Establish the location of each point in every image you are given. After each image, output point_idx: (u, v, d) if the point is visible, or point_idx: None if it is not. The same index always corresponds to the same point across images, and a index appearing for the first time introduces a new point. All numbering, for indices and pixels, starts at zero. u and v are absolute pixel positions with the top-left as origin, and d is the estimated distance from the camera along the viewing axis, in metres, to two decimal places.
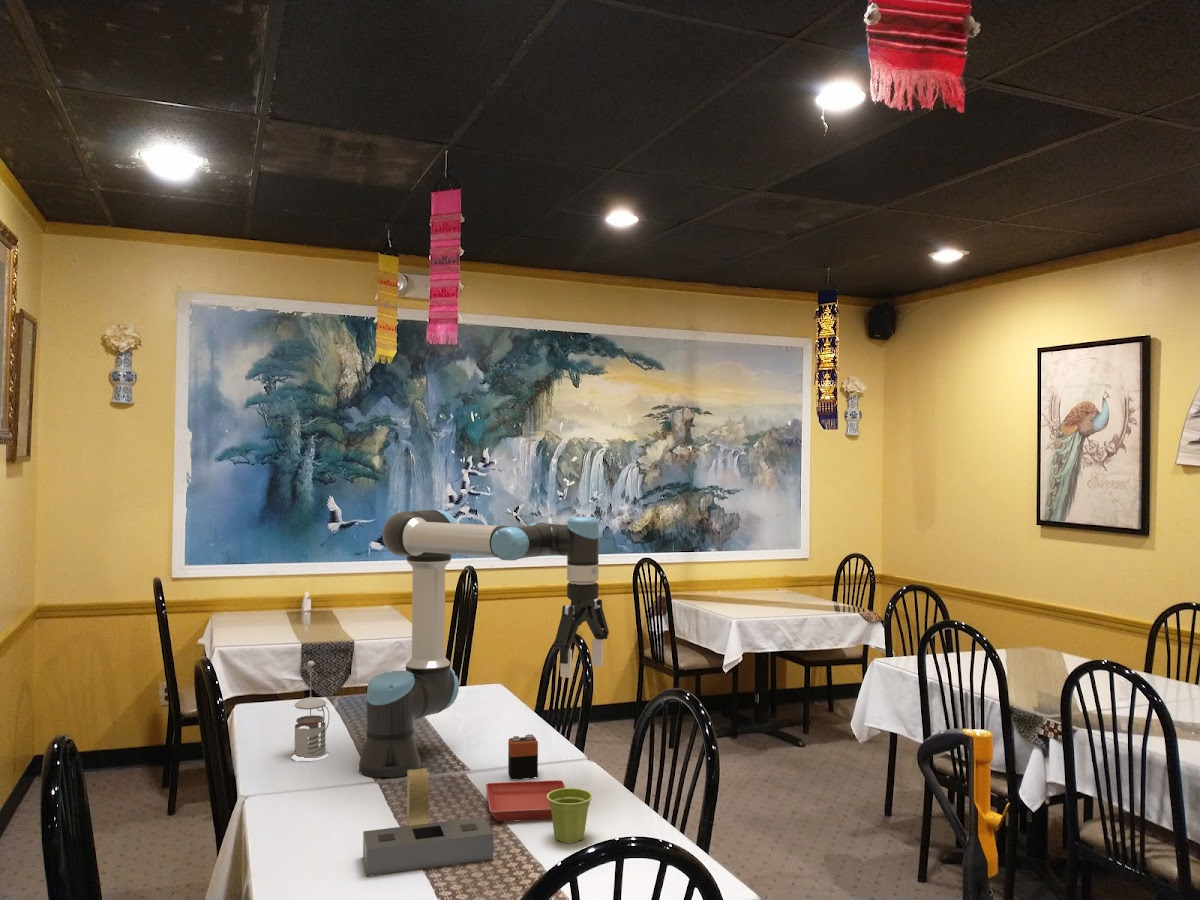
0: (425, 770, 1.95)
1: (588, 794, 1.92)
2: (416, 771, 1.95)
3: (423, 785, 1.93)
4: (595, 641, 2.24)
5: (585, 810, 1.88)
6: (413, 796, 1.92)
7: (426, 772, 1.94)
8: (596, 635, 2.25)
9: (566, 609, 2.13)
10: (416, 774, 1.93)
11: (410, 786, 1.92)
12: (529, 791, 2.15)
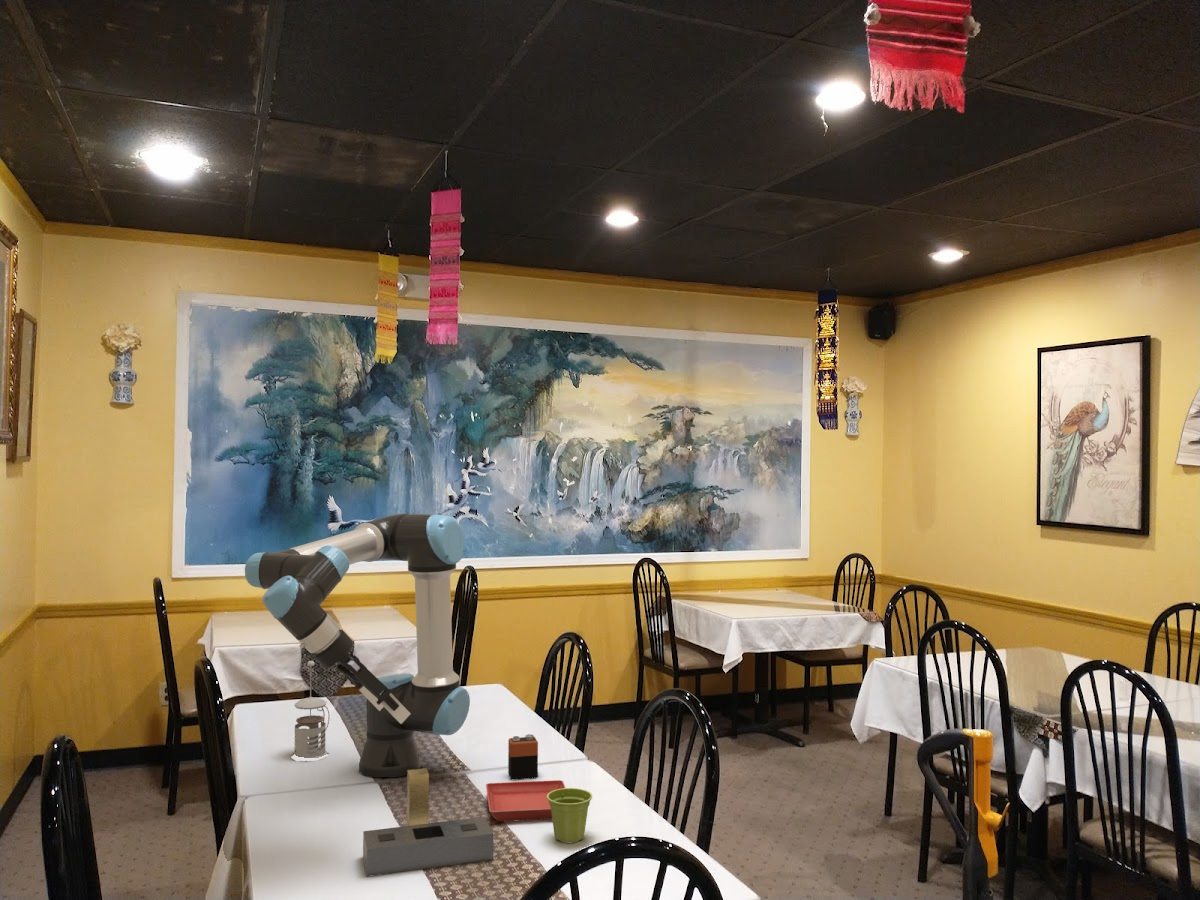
0: (425, 770, 1.95)
1: (588, 794, 1.92)
2: (416, 771, 1.95)
3: (423, 785, 1.93)
4: None
5: (585, 810, 1.88)
6: (413, 796, 1.92)
7: (426, 772, 1.94)
8: None
9: None
10: (416, 774, 1.93)
11: (410, 786, 1.92)
12: (529, 791, 2.15)
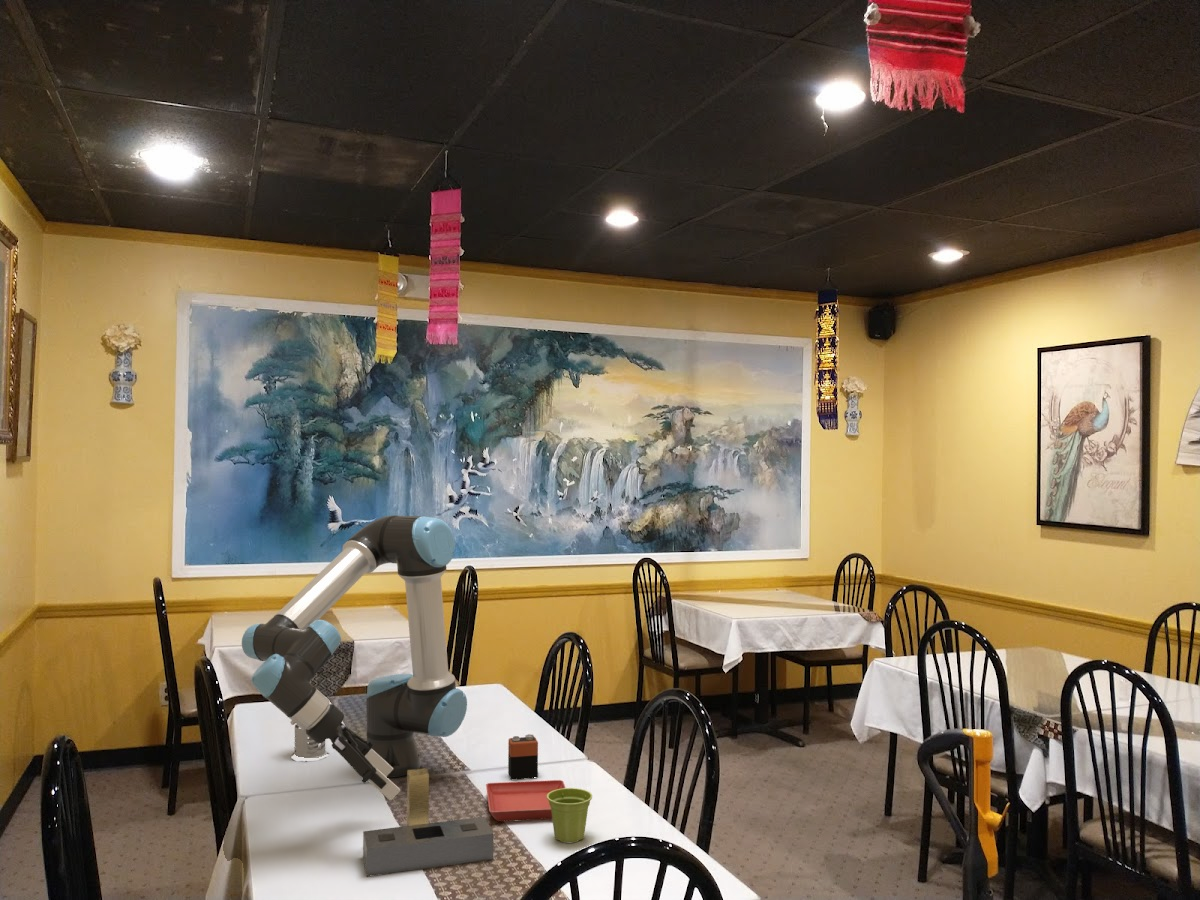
0: (425, 770, 1.95)
1: (588, 794, 1.92)
2: (416, 771, 1.95)
3: (423, 785, 1.93)
4: None
5: (585, 810, 1.88)
6: (413, 796, 1.92)
7: (426, 772, 1.94)
8: None
9: None
10: (416, 774, 1.93)
11: (410, 786, 1.92)
12: (529, 791, 2.15)
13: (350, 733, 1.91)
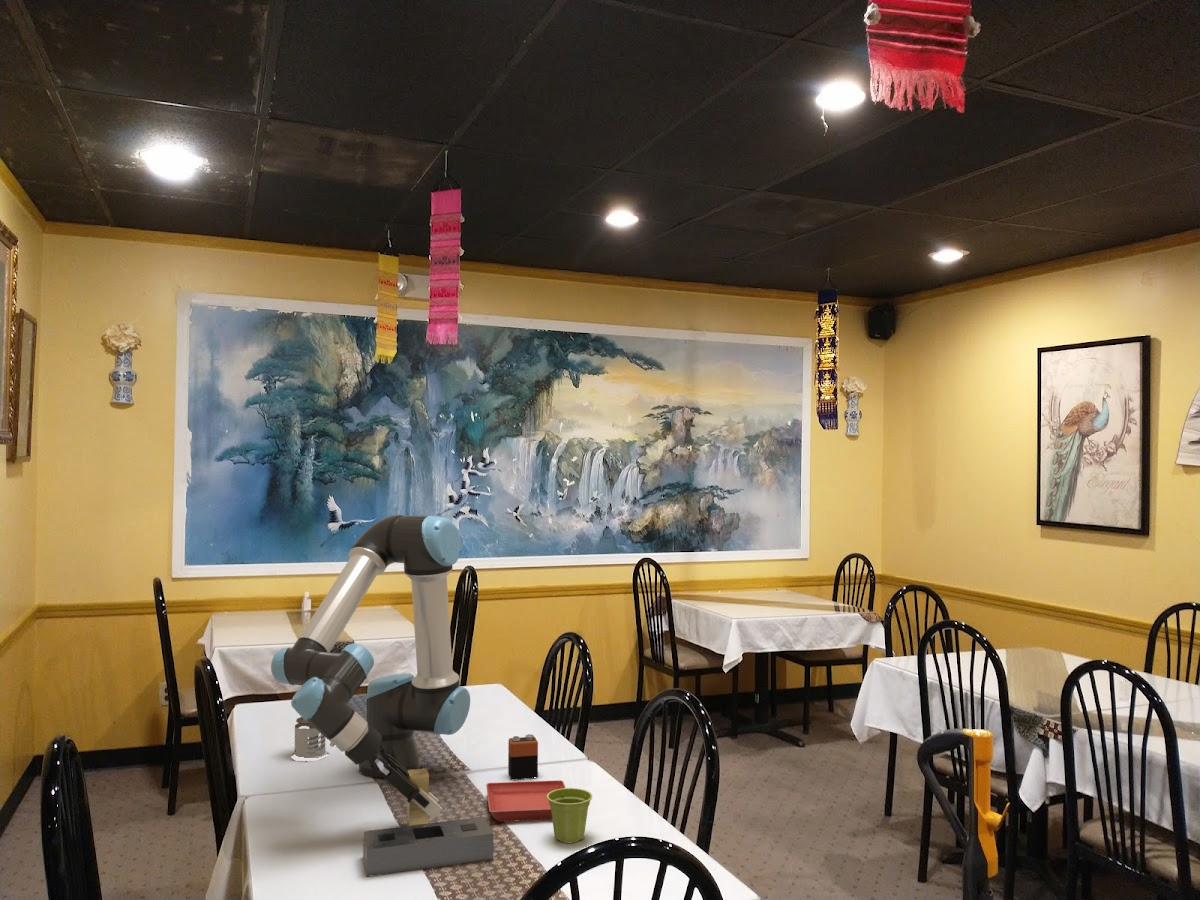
0: (425, 770, 1.95)
1: (588, 794, 1.92)
2: (416, 771, 1.95)
3: (423, 785, 1.93)
4: None
5: (585, 810, 1.88)
6: None
7: (426, 772, 1.94)
8: None
9: None
10: (416, 774, 1.93)
11: None
12: (530, 791, 2.15)
13: (388, 754, 1.93)
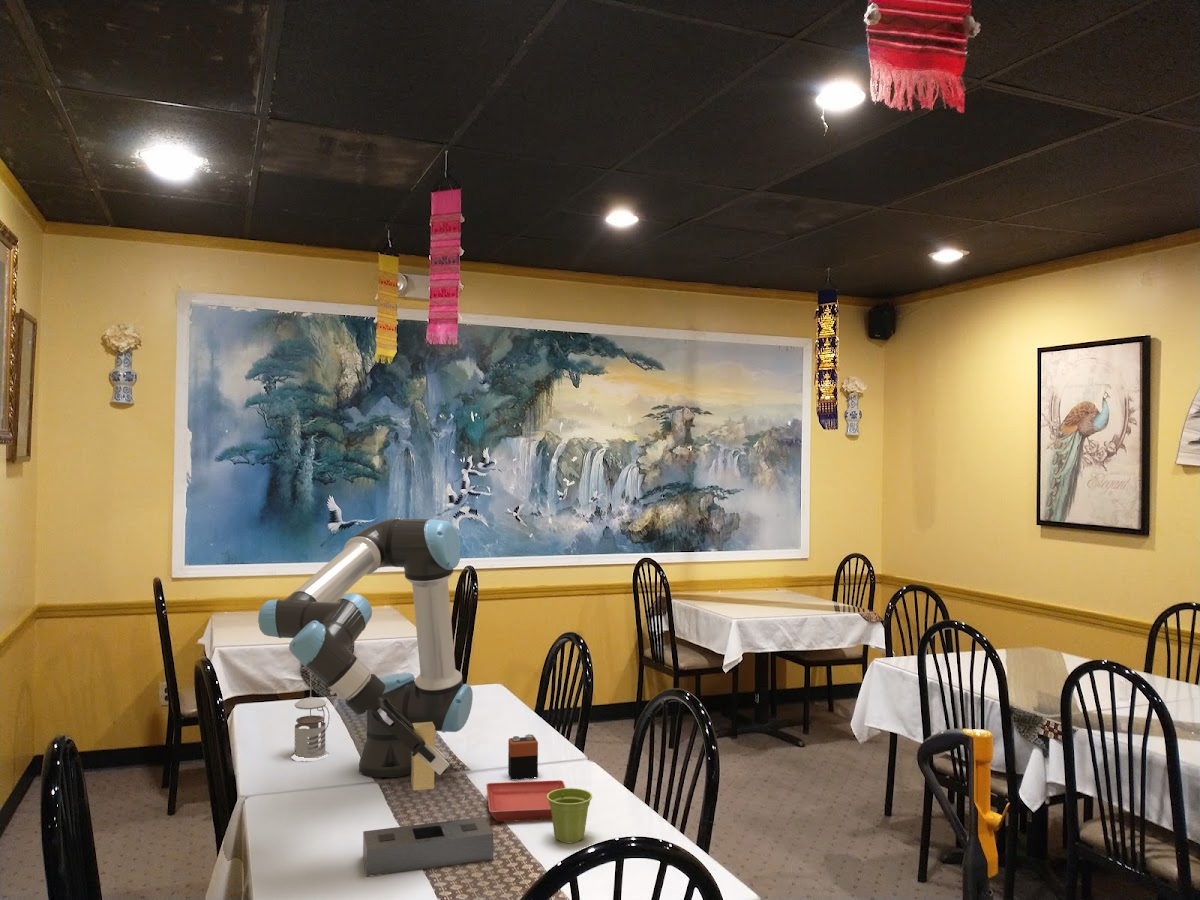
0: (431, 723, 1.83)
1: (588, 794, 1.92)
2: (421, 724, 1.82)
3: (429, 738, 1.80)
4: None
5: (585, 810, 1.88)
6: None
7: (432, 725, 1.82)
8: None
9: None
10: (421, 727, 1.80)
11: None
12: (530, 791, 2.15)
13: None
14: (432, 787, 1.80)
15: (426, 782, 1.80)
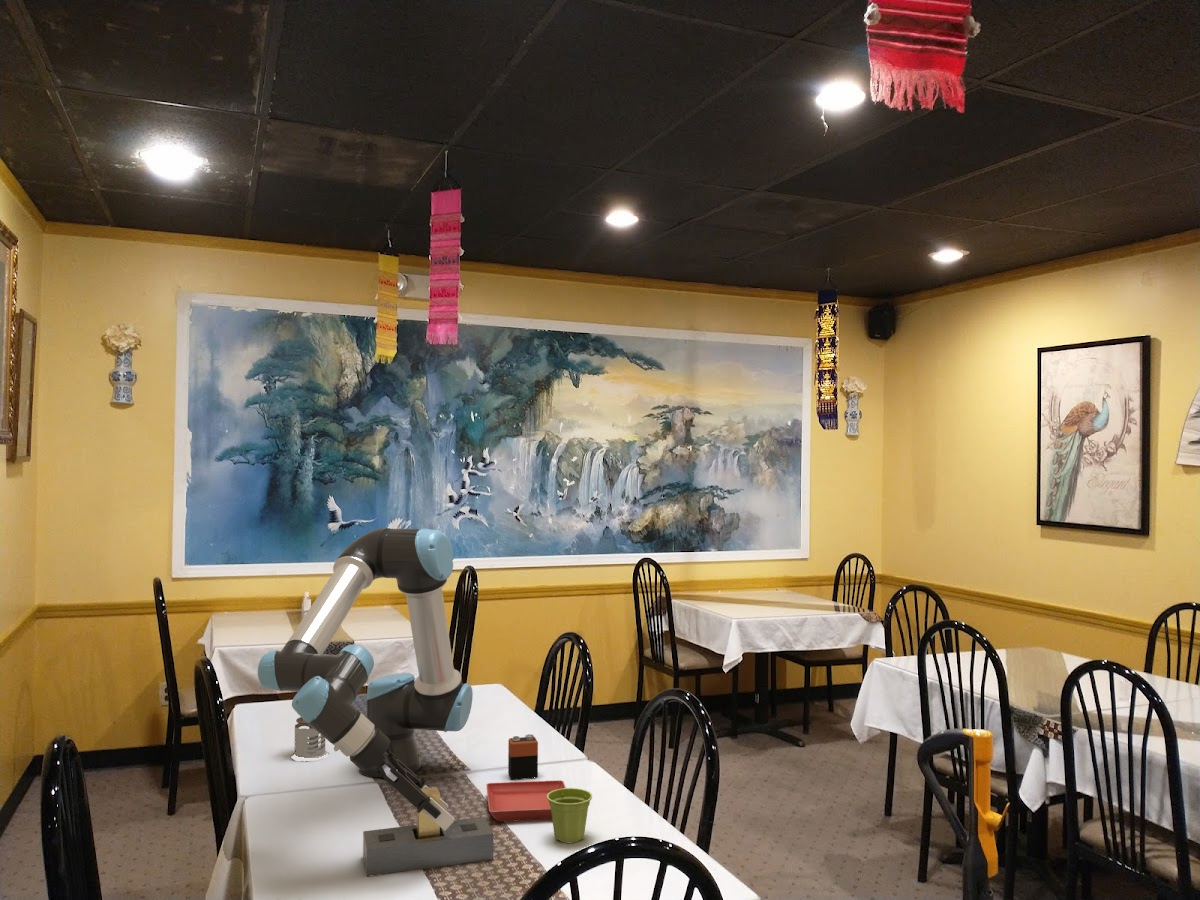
0: (436, 789, 1.81)
1: (588, 794, 1.92)
2: (426, 790, 1.80)
3: None
4: None
5: (585, 810, 1.88)
6: (423, 817, 1.78)
7: (437, 791, 1.80)
8: None
9: None
10: (426, 793, 1.79)
11: None
12: (530, 791, 2.15)
13: (396, 760, 1.79)
14: None
15: None
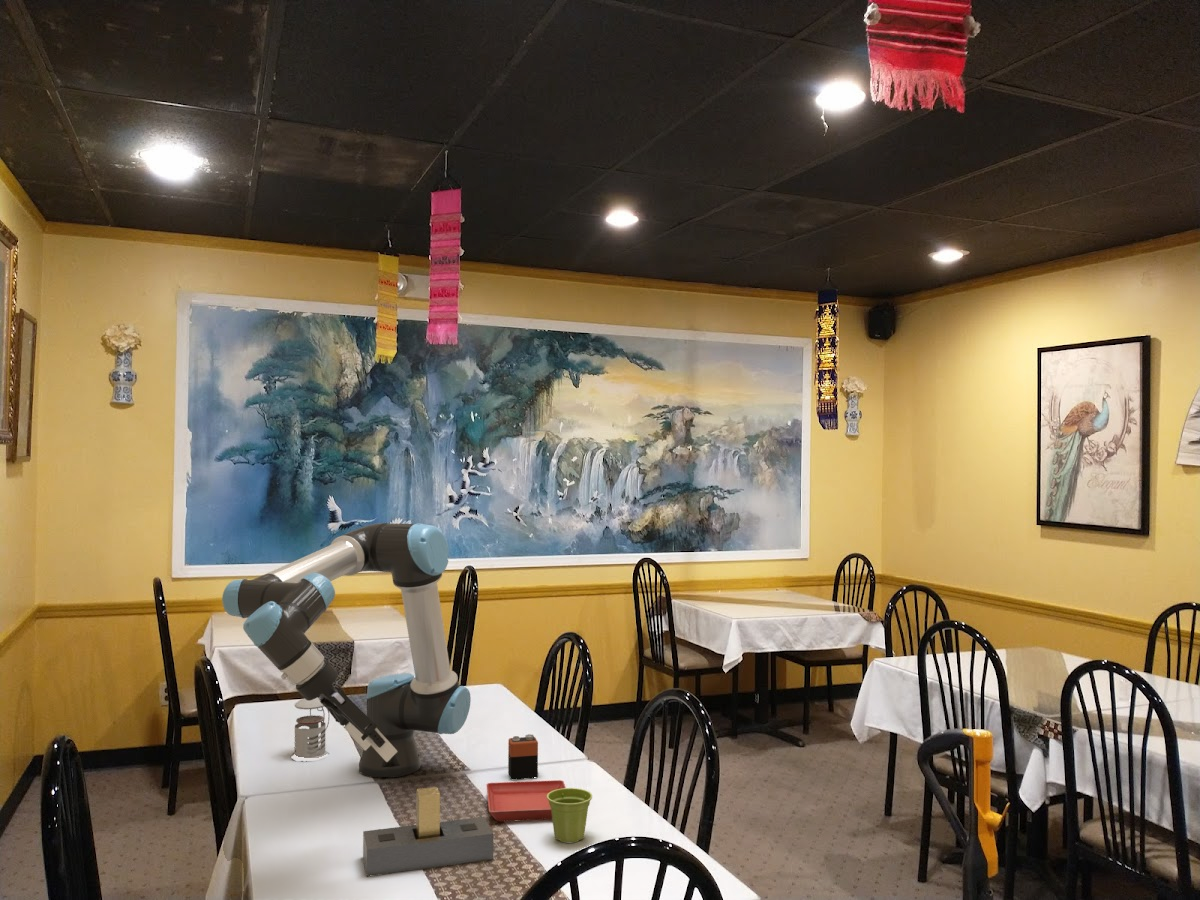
0: (436, 789, 1.81)
1: (588, 794, 1.92)
2: (426, 790, 1.80)
3: (434, 805, 1.78)
4: None
5: (585, 810, 1.88)
6: (423, 817, 1.78)
7: (437, 791, 1.80)
8: None
9: None
10: (426, 793, 1.79)
11: (420, 807, 1.78)
12: (530, 791, 2.15)
13: None
14: None
15: None
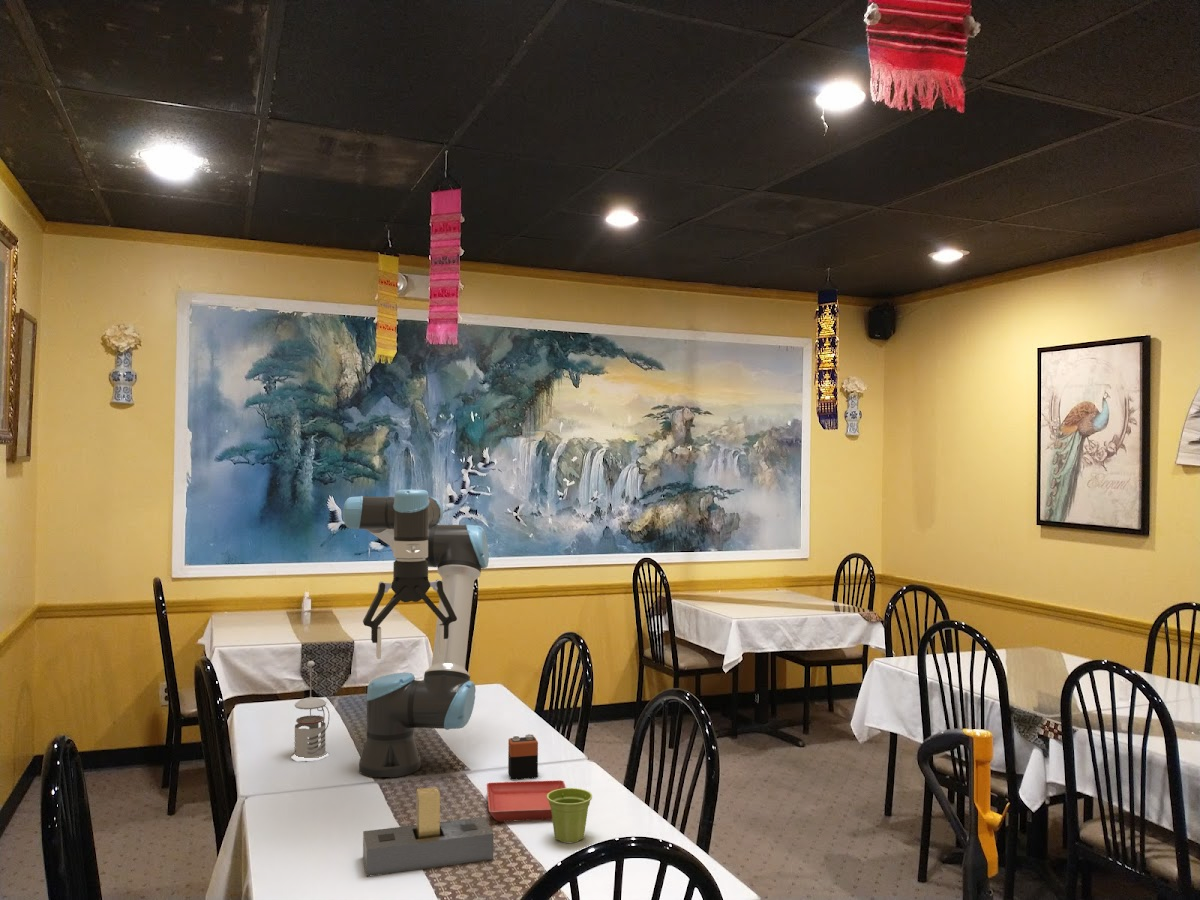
0: (436, 789, 1.81)
1: (588, 794, 1.92)
2: (426, 790, 1.80)
3: (434, 805, 1.78)
4: (439, 626, 2.06)
5: (585, 810, 1.88)
6: (423, 817, 1.78)
7: (437, 791, 1.80)
8: None
9: (379, 585, 2.01)
10: (426, 793, 1.79)
11: (420, 807, 1.78)
12: (530, 791, 2.15)
13: None
14: None
15: None
